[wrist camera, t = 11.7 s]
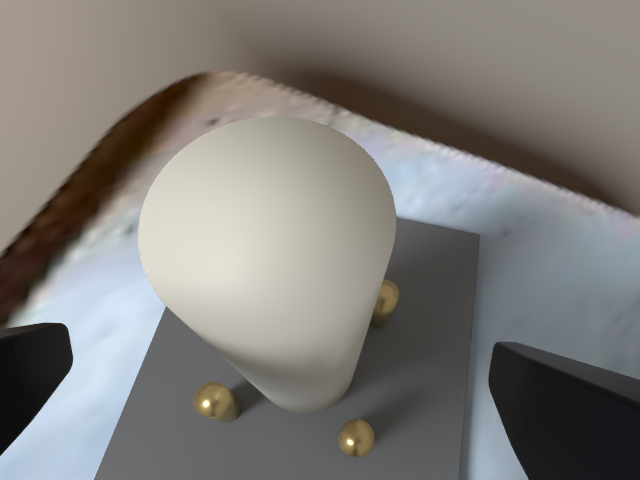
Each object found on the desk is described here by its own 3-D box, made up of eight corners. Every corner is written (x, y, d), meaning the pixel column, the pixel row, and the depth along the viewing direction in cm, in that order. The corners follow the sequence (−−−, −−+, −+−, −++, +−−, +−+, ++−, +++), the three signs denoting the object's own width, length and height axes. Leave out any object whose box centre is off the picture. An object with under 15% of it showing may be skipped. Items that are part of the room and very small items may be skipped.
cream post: (368, 396, 18) (437, 296, 7) (268, 428, 18) (154, 380, 6) (337, 301, 20) (349, 95, 9) (245, 327, 20) (126, 146, 8)
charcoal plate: (438, 628, 16) (470, 678, 12) (88, 519, 17) (26, 536, 14) (473, 243, 23) (501, 203, 19) (221, 192, 24) (203, 147, 21)
